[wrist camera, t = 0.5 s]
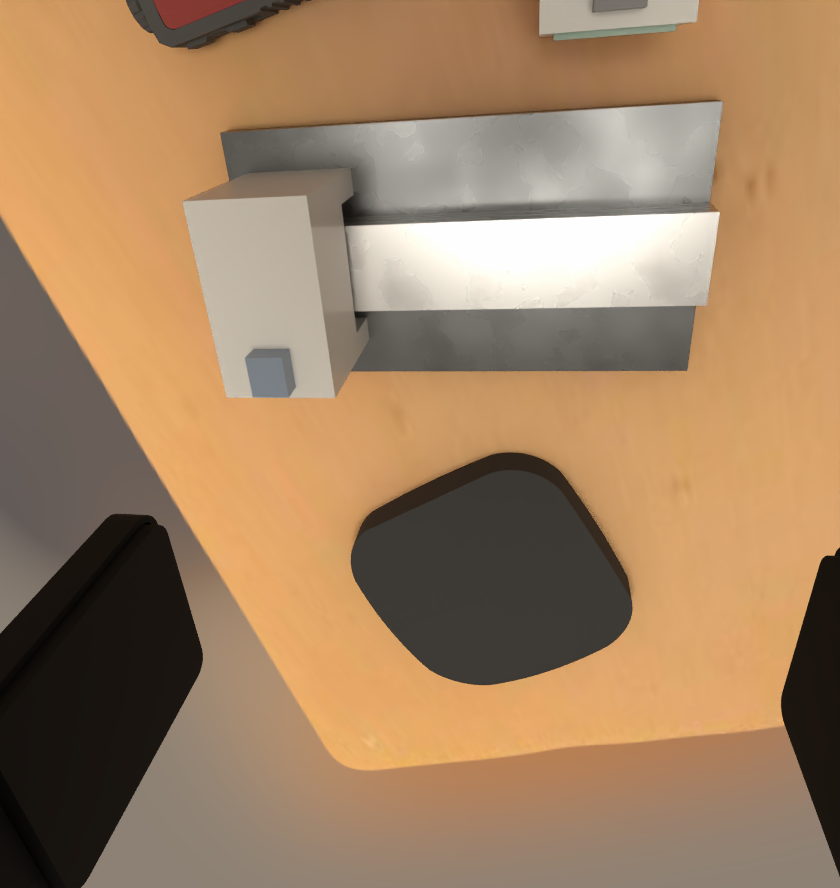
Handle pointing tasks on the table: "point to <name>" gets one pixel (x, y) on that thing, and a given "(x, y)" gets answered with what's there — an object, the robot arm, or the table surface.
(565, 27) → the block
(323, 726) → the table surface
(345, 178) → the mounted module
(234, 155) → the rail plate
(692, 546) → the table surface
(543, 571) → the media streaming box
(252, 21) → the walkie-talkie
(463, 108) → the table surface
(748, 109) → the table surface
